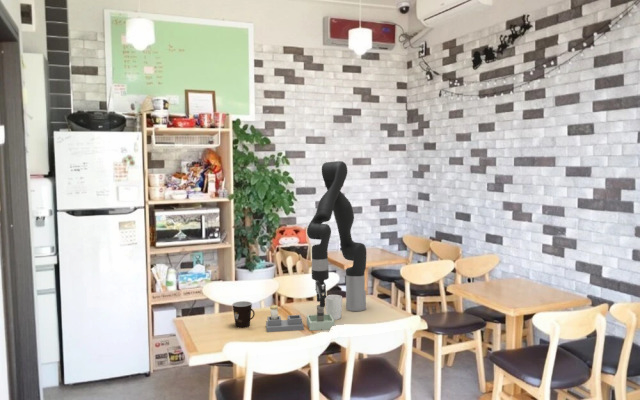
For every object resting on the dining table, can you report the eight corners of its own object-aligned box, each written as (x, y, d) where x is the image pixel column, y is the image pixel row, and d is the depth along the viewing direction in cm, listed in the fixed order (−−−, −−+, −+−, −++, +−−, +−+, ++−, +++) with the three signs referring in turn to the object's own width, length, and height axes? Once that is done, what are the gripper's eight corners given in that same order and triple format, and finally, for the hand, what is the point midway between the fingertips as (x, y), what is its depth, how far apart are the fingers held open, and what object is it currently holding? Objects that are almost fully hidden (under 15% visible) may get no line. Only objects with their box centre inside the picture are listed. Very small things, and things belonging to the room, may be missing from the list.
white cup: (345, 317, 246) (345, 296, 245) (334, 321, 240) (334, 300, 239) (333, 314, 251) (332, 293, 250) (322, 318, 245) (321, 297, 244)
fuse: (277, 322, 233) (277, 304, 232) (278, 324, 230) (278, 307, 229) (270, 322, 233) (269, 305, 232) (270, 325, 229) (270, 307, 229)
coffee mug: (231, 324, 238) (230, 302, 237) (249, 321, 241) (248, 300, 240) (237, 331, 227) (236, 309, 226) (256, 329, 231) (256, 306, 230)
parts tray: (330, 321, 240) (330, 313, 240) (334, 328, 229) (334, 321, 229) (306, 322, 239) (306, 315, 238) (309, 330, 228) (309, 322, 227)
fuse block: (301, 323, 238) (301, 313, 237) (303, 329, 229) (303, 319, 228) (266, 325, 235) (265, 315, 235) (267, 332, 226) (266, 321, 226)
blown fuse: (323, 322, 236) (323, 304, 235) (324, 324, 232) (324, 306, 232) (316, 322, 235) (316, 305, 235) (317, 324, 232) (317, 307, 231)
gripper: (331, 271, 225) (332, 308, 227) (325, 264, 239) (326, 299, 241) (314, 272, 224) (315, 309, 226) (309, 265, 238) (310, 300, 240)
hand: (320, 304), depth 233 cm, fingers open, 8 cm apart
